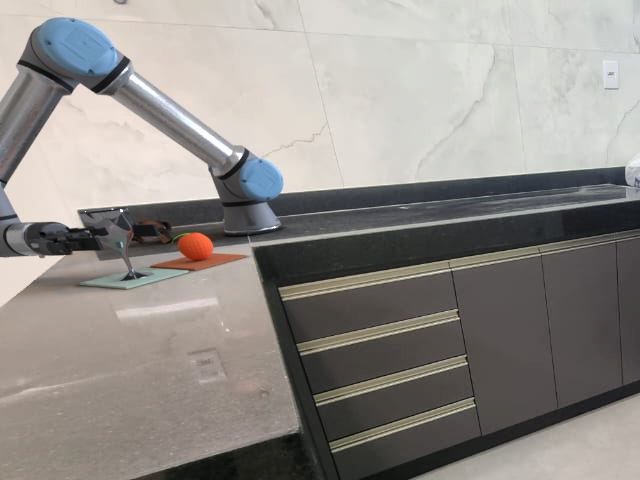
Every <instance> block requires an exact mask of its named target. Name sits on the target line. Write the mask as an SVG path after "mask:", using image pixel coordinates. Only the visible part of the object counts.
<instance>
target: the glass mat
mask: <svg viewBox="0 0 640 480" xmlns="http://www.w3.org/2000/svg"><path fill="white" fill-rule="evenodd" d="M133 269H134V268H133ZM134 270H135V271H137V272H153V273H154V274H153V275H151V276H148V277H144V278H140V279H135V280H128V281H114V279H115V278H118V277H120V276H123V275H125V274H127V273H128V272H129V270H127V271H122V272H118V273H114V274H110V275H106V276H103V277H98V278H94V279H90V280H86V281H82V282H79V285H80V286H88V287H97V288H99V287H100V288H108V289H110V288H111V289H119V290H128V289H133V288H136V287H140V286H144V285H147V284H151V283H155V282H159V281H163V280H166V279H170V278H173V277H177V276H180V275H184V274H188V273H189V270H179V269H164V268H151V267H143V266H142V267H139V268H135V269H134Z"/></svg>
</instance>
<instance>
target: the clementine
mask: <svg viewBox="0 0 640 480" xmlns="http://www.w3.org/2000/svg"><path fill="white" fill-rule="evenodd" d="M178 237H179V239H178V240H177V248H178V250H179V252H180V254H182V255H183V256H184V257H187V258H189V259H192V260H204V259H206V258H208V257H209V256H210V255H211V254H212V253H213V252H214V244H213V242H212V241H211V239H210V238H209V237H208V236H206V235H205V234H203V233H200V232H192V231H189V232H187V233H181V234H179V235H177V236H176V237H174V238H173V240H171V243H173V242H174V240H175V239H177V238H178Z"/></svg>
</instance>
